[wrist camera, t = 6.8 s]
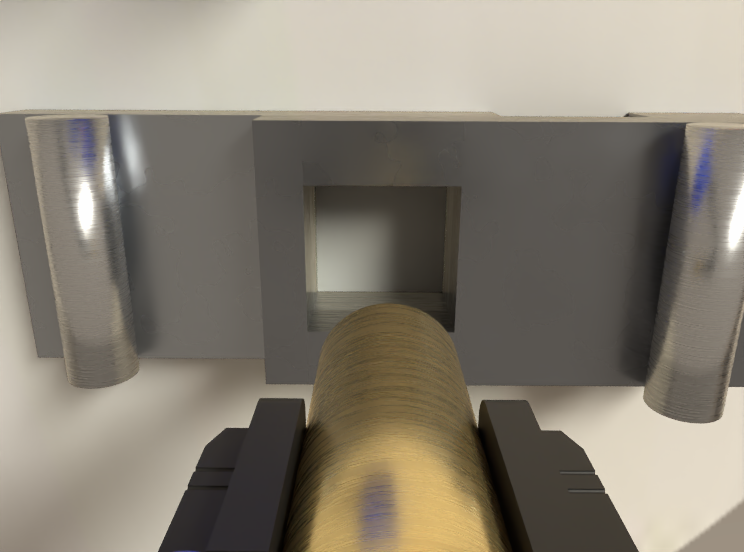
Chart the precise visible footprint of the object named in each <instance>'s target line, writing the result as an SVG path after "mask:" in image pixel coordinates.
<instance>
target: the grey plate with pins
mask: <svg viewBox="0 0 744 552" xmlns="http://www.w3.org/2000/svg"><path fill="white" fill-rule="evenodd" d="M0 147H1V153H2V158H3V164H4V169H5V175H6V180H7V186H8V192H9V197H10V203H11V208H12V214H13V220H14V225H15V231H16V236H17V242H18V247H19V253H20V259H21V264H22V270H23V275H24V281H25V286H26V292H27V298H28V303H29V309H30V314H31V320H32V325H33V331H34V337H35V342H36V348H37V353H38V357H61V358H64V359H65V365H66V371H67V377H68V381H69V383H70V384H72V385H73V386H76V387H80V388H103V387H109V386H113V385H116V384H119V383H122V382H124V381H127V380H128V379H130V378H132V377H133V376H134V375H136V374H137V372H138V371H139V361H138V358H229V359H265V372H266V384H314V383H315V378H316V373H317V368H318V363H319V358H320V353H321V349H322V347H323V344H324V342H325V340H326V338H327V336H328V335H329V333H330V332H331V330H332V329H333V328H334V327H335V326H336V325H337V324H338V323H339V322H340V321H341V320H342V319H344V318H345V317H346V316H348V315H349V314H351V313H353V312H355V311H357V310H359V309H361V308H364V307H367V306H371V305H376V304H386V303H392V304H402V305H407V306H410V307H414V308H417V309H419V310H421V311H423V312H425V313H427V314H428V315H430V316H431V317H433V318H434V319H435V320H436V321H438V322H439V323H440V324H441V325H442V326H443V327H444V329H445V330H446V331H447V333H448V334H449V336H450V337H451V339H452V341H453V343H454V346H455V349H456V352H457V355H458V359H459V362H460V366H461V369H462V373H463V377H464V380H465V384H466V385H515V386H645V388H644V395H643V399H644V401H645V403H646V404H647V405H648V406H649V407H650V408H651V409H653V410H654V411H656V412H657V413H659V414H661V415H663V416H666V417H668V418H671V419H675V420H678V421H683V422H689V423H710V422H714V421H717V420H719V419H720V418H721V417H722V415H723V411H724V406H725V401H726V396H727V391H728V387H744V114H740V113H629V114H628V117H523V116H500V115H497V114H495V113H492V112H383V111H185V110H20V111H12V112H5V113H0ZM315 186H447V199H446V222H445V246H444V269H443V292H317V252H316V210H315Z"/></svg>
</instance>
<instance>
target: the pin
mask: <svg viewBox="0 0 744 552" xmlns="http://www.w3.org/2000/svg"><path fill="white" fill-rule="evenodd" d="M282 552H512V548H511V544H510V541H509V537H508V534H507V530H506V527H505V523H504V519H503V516H502V512H501V509H500V505H499V502H498V498H497V494H496V491H495V487H494V484H493V480H492V477H491V473H490V469H489V466H488V462H487V459H486V455H485V452H484V448H483V444H482V441H481V437H480V434H479V430H478V426H477V423H476V419H475V416H474V412H473V409H472V405H471V402H470V398H469V394H468V391H467V387H466V384H465V380H464V377H463V373H462V369H461V366H460V362H459V359H458V355H457V352H456V349H455V346H454V343H453V341H452V339H451V337H450V336H449V334H448V333H447V331H446V330H445V329H444V327H443V326H442V325H441V324H440V323H439V322H438V321H436V320H435V319H434V318H433V317H431V316H430V315H428V314H427V313H425V312H423V311H421V310H419V309H417V308H414V307H410V306H407V305H402V304H392V303H386V304H376V305H371V306H367V307H364V308H361V309H359V310H357V311H355V312H353V313H351V314H349V315H348V316H346V317H345V318H344V319H342V320H341V321H340V322H339V323H338V324H337V325H336V326H335V327H334V328H333V329H332V330H331V332H330V333H329V335H328V336H327V338H326V340H325V342H324V344H323V347H322V349H321V353H320V358H319V363H318V368H317V373H316V378H315V383H314V388H313V394H312V399H311V404H310V409H309V414H308V419H307V424H306V430H305V435H304V440H303V446H302V451H301V456H300V461H299V466H298V471H297V477H296V482H295V487H294V492H293V497H292V502H291V507H290V513H289V518H288V523H287V528H286V533H285V538H284V544H283V549H282Z"/></svg>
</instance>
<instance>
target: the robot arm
mask: <svg viewBox="0 0 744 552" xmlns="http://www.w3.org/2000/svg"><path fill="white" fill-rule="evenodd" d="M305 430H306V414H305V402H304V399H288V398H260V399H259V401H258V403H257V406H256V409H255V412H254V415H253V418H252V420H251V423H250V426H249V428H226V429H225V430H223V431H222V432H221V433H220V434H219V435H218V436H216V437H215V438H214V439H213V440H212V441H211V442H210V443H208V444H207V445H206V446H205V448H204V450H203V453H202V455H201V457H200V459H199V461H198V464H197V466H196V472H194V473H193V475H192V477H191V479H190V482H189V484H188V489H187V490H185V493H184V495H183V497H182V499H181V502H180V504H179V506H178V508H177V511H176V513H175V515H174V517H173V519H172V522H171V524H170V526H169V528H168V531H167V533H166V535H165V537H164V540H163V542H162V544H161V546H160V548H159V551H158V552H282V549H283V544H284V538H285V533H286V528H287V523H288V518H289V513H290V507H291V502H292V497H293V492H294V487H295V482H296V477H297V471H298V466H299V461H300V456H301V451H302V446H303V440H304V435H305ZM478 430H479V434H480V437H481V441H482V444H483V448H484V452H485V455H486V459H487V462H488V466H489V469H490V473H491V477H492V480H493V484H494V487H495V491H496V494H497V498H498V502H499V505H500V509H501V512H502V516H503V519H504V523H505V527H506V530H507V534H508V537H509V541H510V544H511V548H512V552H639V551H638V549H637V548H636V546H635V544H634V542H633V540H632V538H631V536H630V535H629V533H628V531H627V529H626V527H625V525H624V523H623V522H622V520H621V518H620V516H619V514H618V512H617V511H616V509H615V507H614V505H613V503H612V501H611V499H610V498H609V496H608V494H605V488H604V486H603V485H602V483H601V481H600V479H599V477H598V475H595V470H594V468H593V466H592V464H591V462H590V461H589V459H588V457H587V455H586V453H585V451H584V449H583V448H581V447H580V446H579V445H578V444H576V443H575V442H574V441H573V440H572V439H570V438H569V437H568V436H567V435H565V434H564V433H563V432H562V431H541V429H540V427H539V425H538V423H537V421H536V418H535V416H534V414H533V412H532V409H531V407H530V405H529V403H528V402H527V401H526V400H482V402H481V404H480V410H479V423H478Z"/></svg>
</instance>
